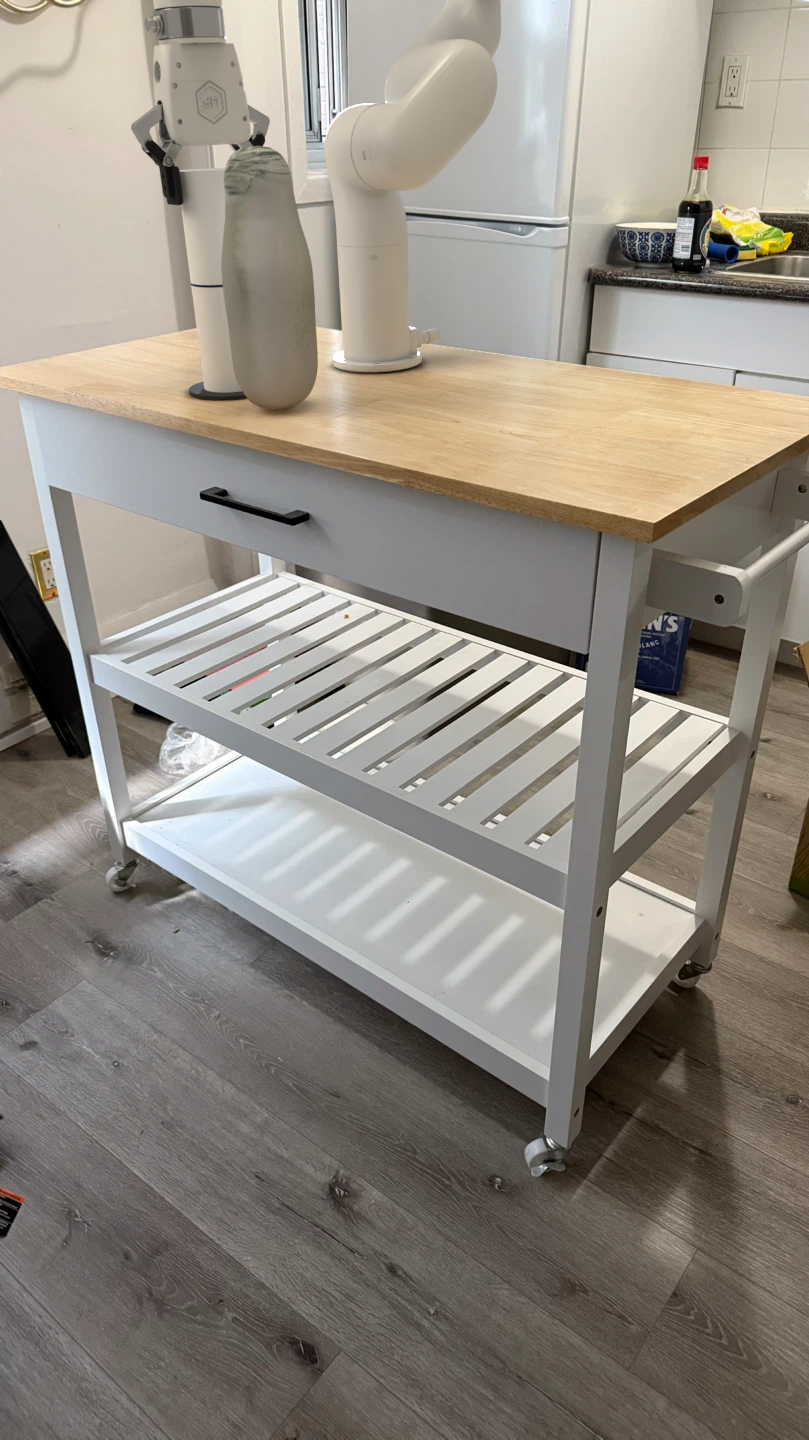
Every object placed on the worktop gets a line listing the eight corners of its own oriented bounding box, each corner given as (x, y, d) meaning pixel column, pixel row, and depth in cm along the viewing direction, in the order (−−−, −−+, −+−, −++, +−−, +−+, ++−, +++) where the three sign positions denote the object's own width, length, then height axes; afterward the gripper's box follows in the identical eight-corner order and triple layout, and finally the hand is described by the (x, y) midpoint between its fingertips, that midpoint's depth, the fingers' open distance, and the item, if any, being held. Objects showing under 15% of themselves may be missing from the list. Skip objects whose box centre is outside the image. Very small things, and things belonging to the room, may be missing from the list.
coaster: (252, 376, 141) (252, 373, 141) (287, 391, 133) (287, 387, 133) (176, 388, 136) (176, 384, 136) (208, 404, 128) (207, 400, 128)
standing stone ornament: (256, 396, 131) (231, 145, 117) (332, 399, 129) (315, 143, 114) (224, 416, 123) (192, 148, 109) (304, 419, 120) (282, 146, 106)
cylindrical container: (214, 395, 130) (186, 172, 118) (197, 384, 136) (169, 170, 123) (267, 387, 133) (245, 169, 120) (248, 377, 139) (225, 167, 126)
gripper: (132, 27, 108) (159, 209, 117) (275, 27, 116) (290, 196, 125) (104, 33, 113) (132, 206, 122) (243, 32, 122) (259, 194, 130)
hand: (212, 200), depth 123 cm, fingers open, 9 cm apart
